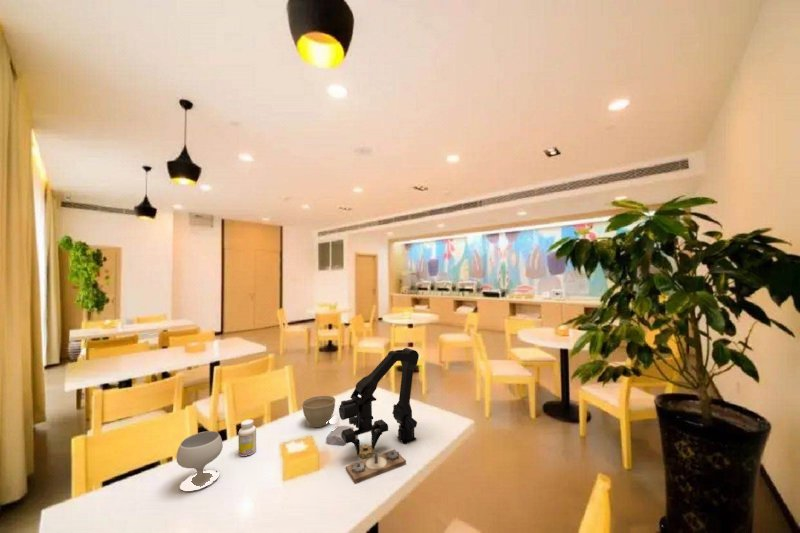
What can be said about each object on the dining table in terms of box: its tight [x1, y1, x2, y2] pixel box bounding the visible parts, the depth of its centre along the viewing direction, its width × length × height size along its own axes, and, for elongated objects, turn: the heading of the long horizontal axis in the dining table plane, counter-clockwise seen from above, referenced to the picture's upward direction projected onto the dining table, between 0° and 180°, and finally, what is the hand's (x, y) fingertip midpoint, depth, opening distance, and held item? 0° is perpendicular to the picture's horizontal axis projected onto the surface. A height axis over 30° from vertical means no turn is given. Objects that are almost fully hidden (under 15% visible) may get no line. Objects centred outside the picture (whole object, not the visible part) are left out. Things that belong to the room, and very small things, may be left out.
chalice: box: [176, 430, 224, 487], centre depth 110 cm, size 14×14×15 cm
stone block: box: [325, 425, 355, 446], centre depth 137 cm, size 12×5×10 cm
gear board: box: [345, 449, 407, 485], centre depth 115 cm, size 21×9×6 cm, turn 120°
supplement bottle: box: [237, 419, 257, 457], centre depth 127 cm, size 7×7×13 cm
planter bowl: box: [301, 395, 336, 428], centre depth 152 cm, size 16×16×11 cm
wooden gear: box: [355, 444, 376, 460], centre depth 124 cm, size 7×7×2 cm
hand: (365, 451), depth 124 cm, fingers closed on wooden gear, 6 cm apart
